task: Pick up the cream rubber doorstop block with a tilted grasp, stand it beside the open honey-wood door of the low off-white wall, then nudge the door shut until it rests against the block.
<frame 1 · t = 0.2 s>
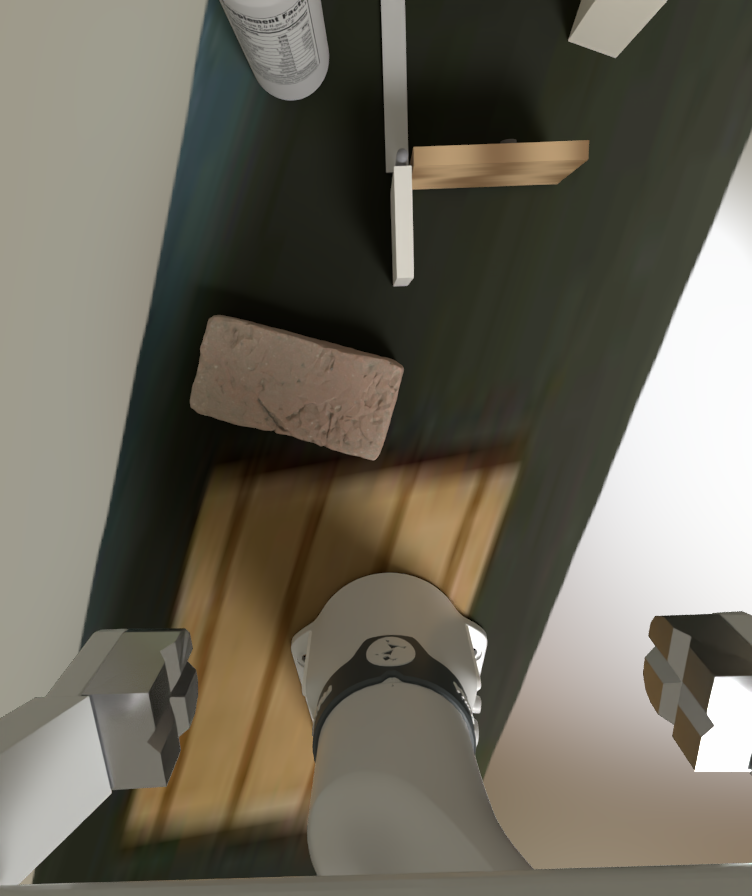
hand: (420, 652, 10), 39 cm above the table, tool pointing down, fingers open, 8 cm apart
door: (491, 159, 40), point 4 cm above the table, hinge at -90.0°
doorframe: (397, 183, 44), on the table
brick: (300, 383, 48), on the table
energy drink can: (291, 63, 42), on the table
doorstop block: (601, 21, 42), on the table
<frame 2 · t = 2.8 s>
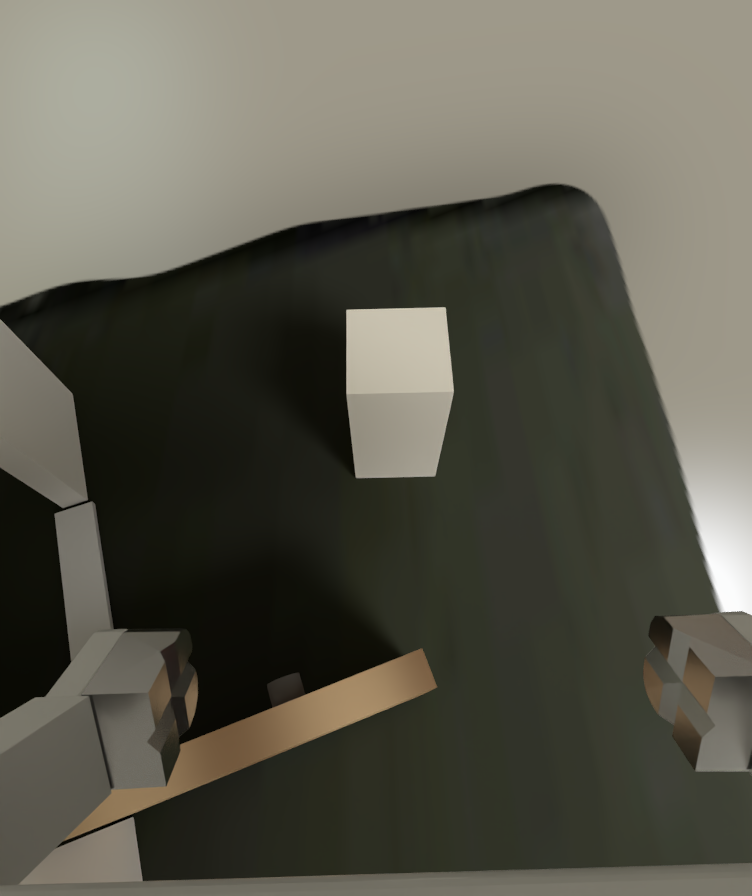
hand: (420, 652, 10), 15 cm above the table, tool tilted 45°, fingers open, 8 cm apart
door: (260, 723, 19), point 4 cm above the table, hinge at -90.0°
doorframe: (115, 802, 21), on the table
doorstop block: (393, 441, 28), on the table
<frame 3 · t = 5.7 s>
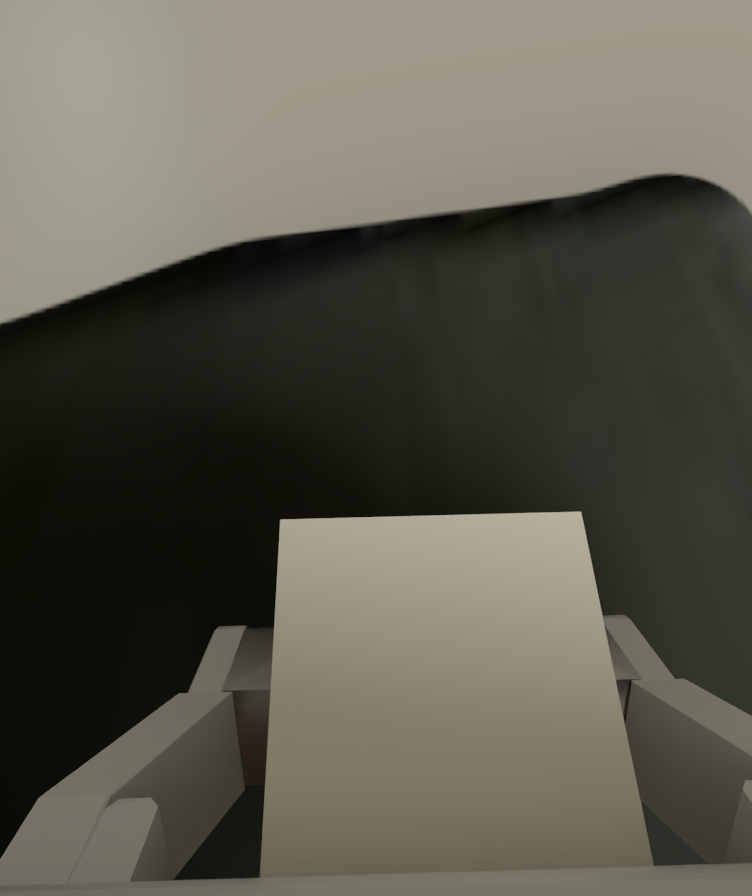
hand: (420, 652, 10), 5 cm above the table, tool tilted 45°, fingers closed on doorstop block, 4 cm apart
doorstop block: (409, 701, 13), on the table, touching gripper
when the fingers open (6 cm above the table, at t = 10.5 s): doorstop block drops 1 cm, on the table.
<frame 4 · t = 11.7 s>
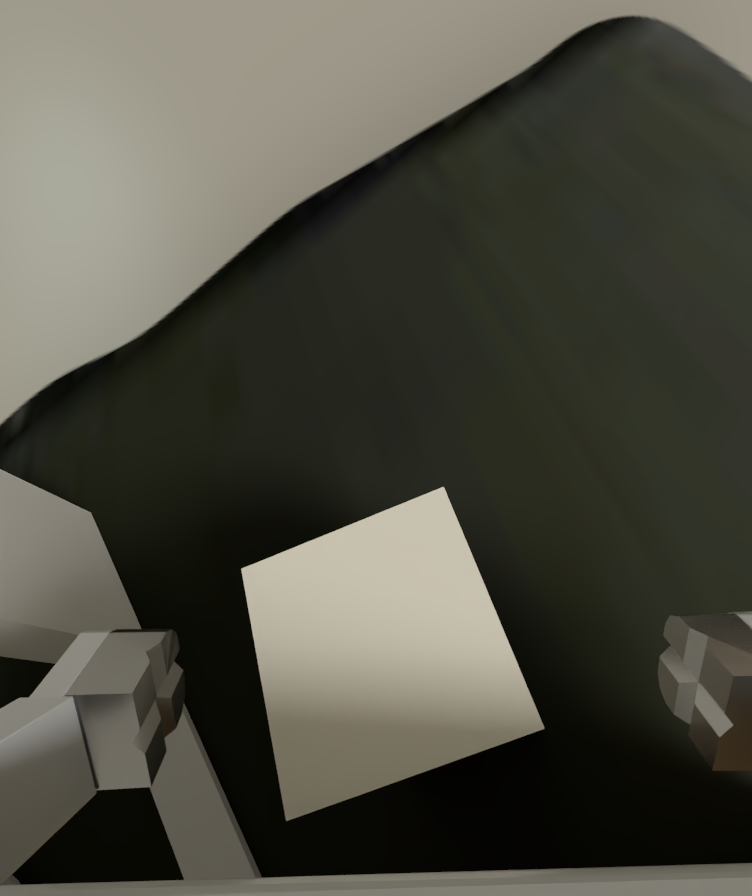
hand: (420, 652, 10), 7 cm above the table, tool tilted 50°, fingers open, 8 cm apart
doorstop block: (447, 678, 16), on the table
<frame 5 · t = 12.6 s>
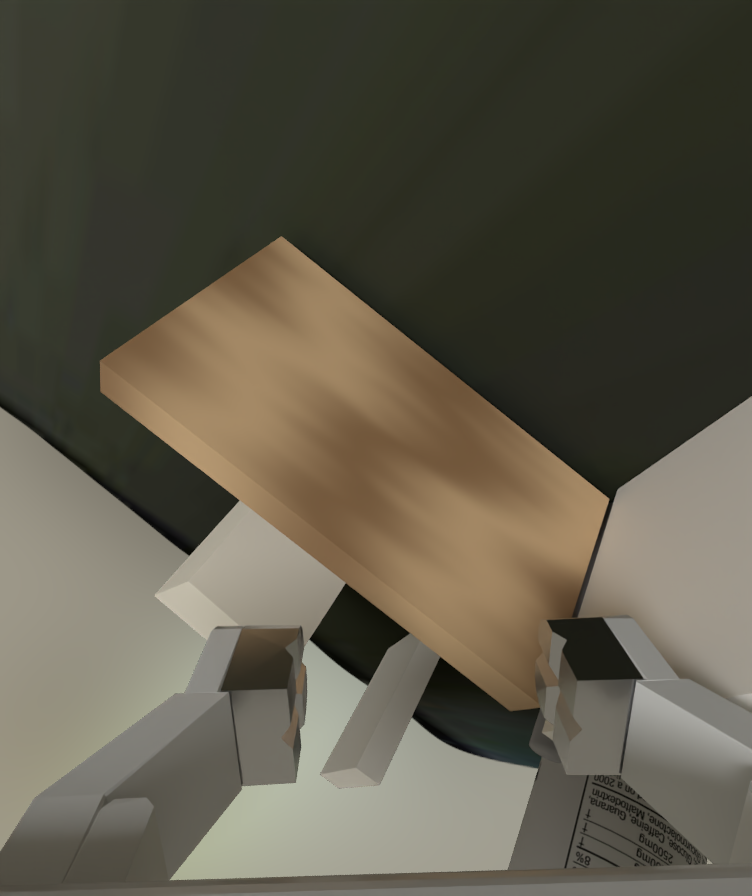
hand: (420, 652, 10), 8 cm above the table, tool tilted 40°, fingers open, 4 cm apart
door: (377, 460, 14), point 4 cm above the table, hinge at -96.0°
doorframe: (618, 511, 17), on the table
energy drink can: (638, 704, 23), on the table
doorstop block: (346, 464, 22), on the table
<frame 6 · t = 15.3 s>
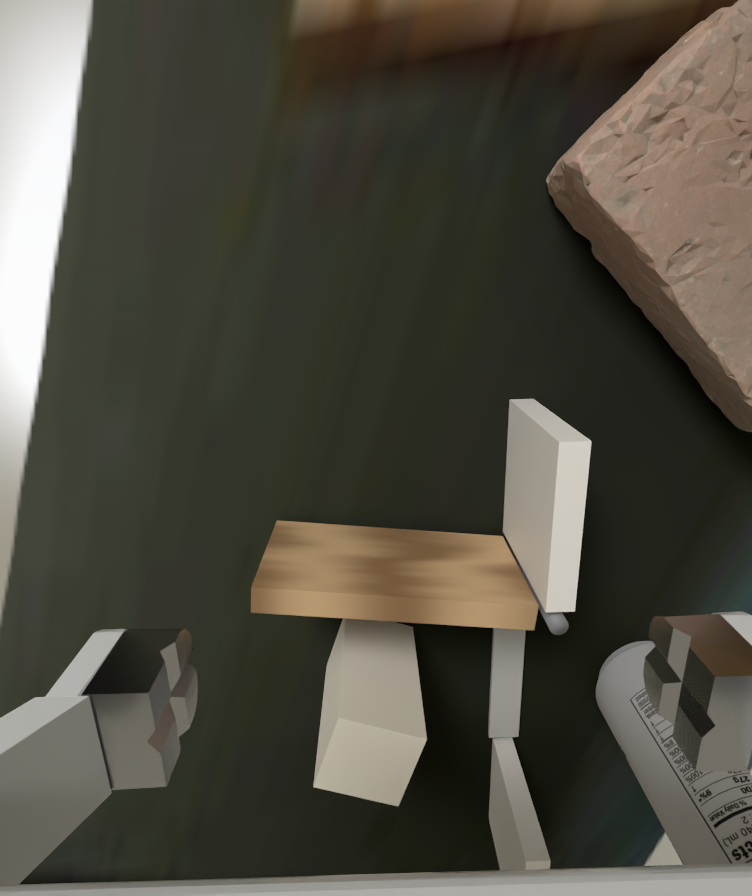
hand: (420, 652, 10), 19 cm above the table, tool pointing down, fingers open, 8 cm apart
door: (391, 578, 26), point 4 cm above the table, hinge at -96.0°
doorframe: (513, 543, 30), on the table
brick: (708, 252, 26), on the table
energy drink can: (638, 673, 33), on the table
doorstop block: (369, 646, 32), on the table
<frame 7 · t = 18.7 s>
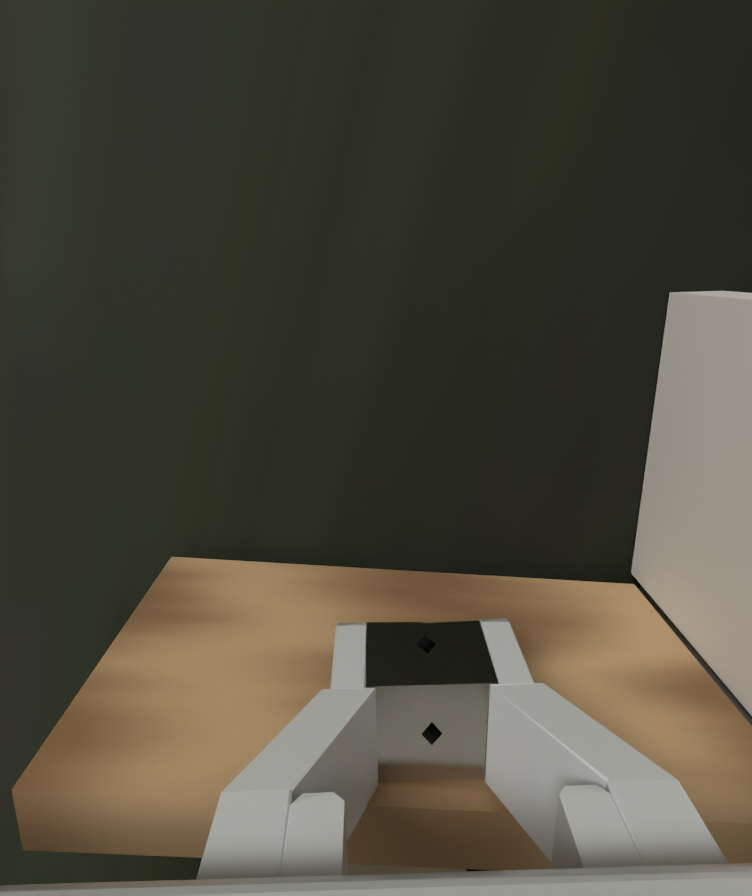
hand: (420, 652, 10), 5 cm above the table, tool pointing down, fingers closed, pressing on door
door: (410, 699, 11), point 4 cm above the table, hinge at -95.8°, touching gripper
doorframe: (649, 594, 15), on the table
doorstop block: (364, 779, 17), on the table
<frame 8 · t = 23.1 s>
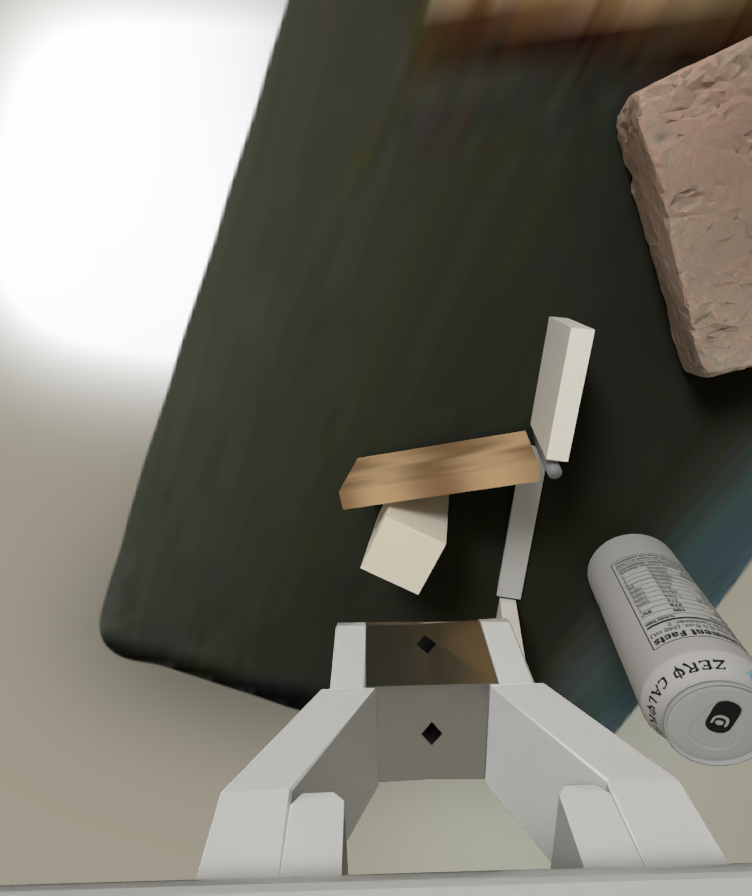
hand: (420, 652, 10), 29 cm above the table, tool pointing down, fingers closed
door: (439, 475, 36), point 4 cm above the table, hinge at -72.9°
doorframe: (537, 434, 38), on the table
brick: (717, 224, 33), on the table
energy drink can: (627, 563, 40), on the table
doorstop block: (413, 503, 41), on the table
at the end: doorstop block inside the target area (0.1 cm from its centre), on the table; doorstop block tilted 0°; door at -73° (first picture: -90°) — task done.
